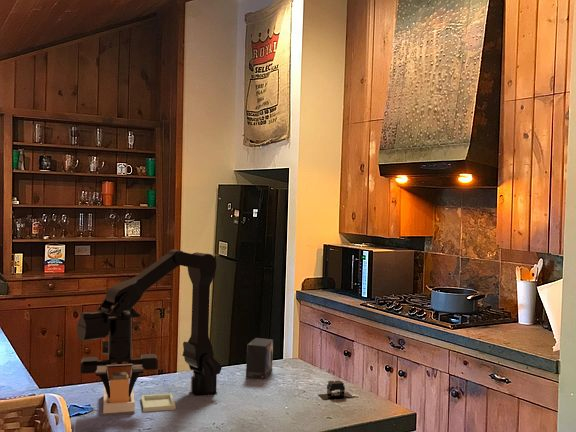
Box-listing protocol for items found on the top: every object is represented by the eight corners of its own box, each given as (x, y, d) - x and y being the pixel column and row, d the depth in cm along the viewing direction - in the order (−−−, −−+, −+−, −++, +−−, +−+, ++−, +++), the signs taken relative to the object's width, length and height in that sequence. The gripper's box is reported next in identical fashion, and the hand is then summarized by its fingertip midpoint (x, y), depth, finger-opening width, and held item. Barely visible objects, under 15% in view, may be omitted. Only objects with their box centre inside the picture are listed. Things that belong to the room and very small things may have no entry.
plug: (128, 407, 154) (128, 376, 154) (109, 408, 152) (110, 377, 152) (127, 402, 158) (128, 371, 158) (109, 403, 157) (110, 372, 157)
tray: (171, 399, 166) (171, 393, 166) (175, 411, 157) (175, 405, 157) (141, 401, 164) (141, 395, 164) (143, 413, 154) (143, 407, 154)
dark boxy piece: (351, 392, 177) (351, 377, 177) (361, 400, 170) (361, 384, 170) (310, 395, 174) (311, 380, 174) (319, 403, 167) (319, 387, 167)
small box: (265, 379, 187) (266, 345, 187) (245, 378, 188) (245, 344, 188) (273, 370, 197) (274, 338, 197) (253, 369, 199) (254, 337, 199)
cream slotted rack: (132, 396, 168) (132, 374, 168) (134, 415, 153) (134, 391, 153) (103, 398, 166) (104, 375, 166) (103, 418, 151) (103, 393, 150)
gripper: (155, 328, 165) (154, 385, 166) (82, 330, 160) (81, 390, 160) (158, 336, 155) (157, 398, 155) (80, 340, 149) (80, 403, 150)
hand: (119, 396), depth 155 cm, fingers closed on plug, 4 cm apart
